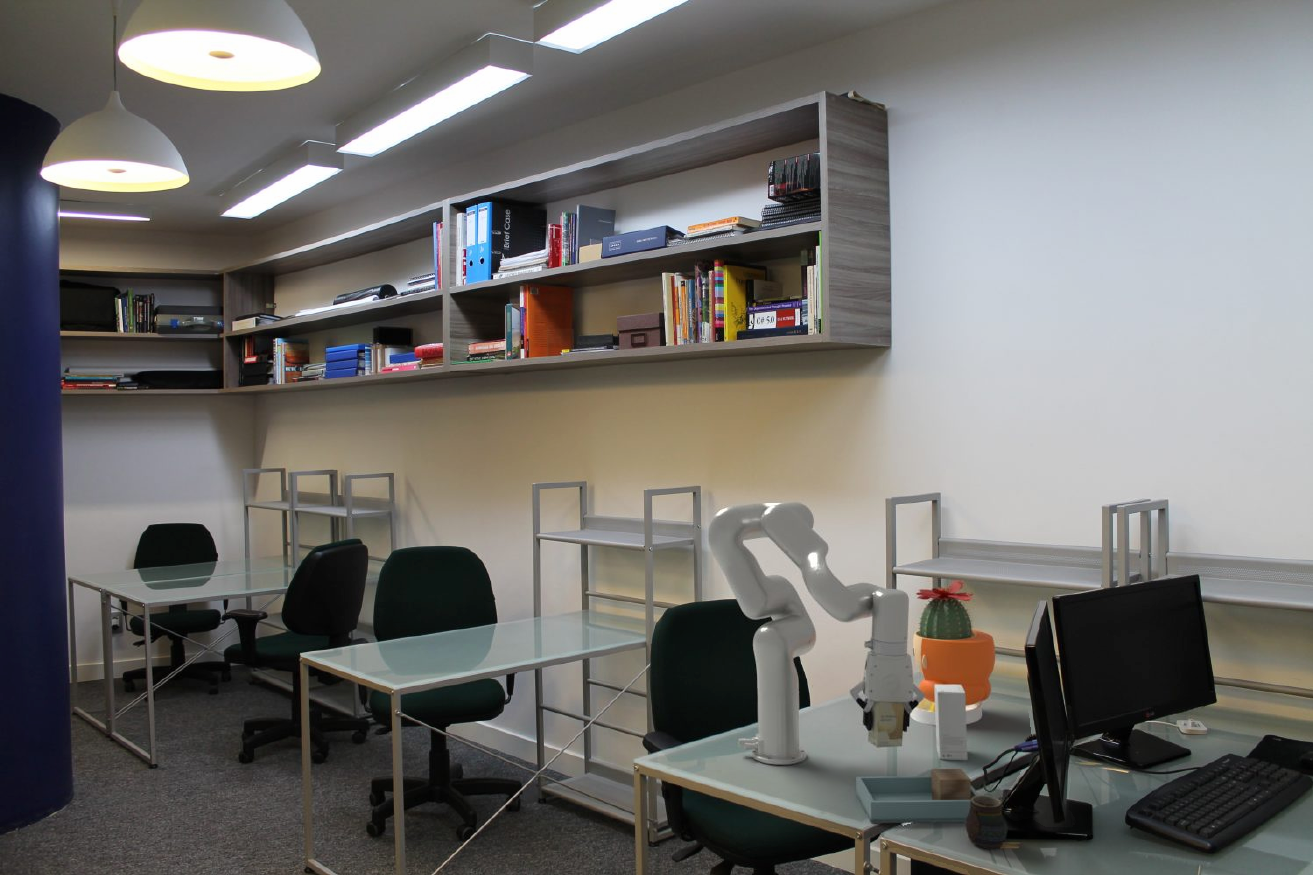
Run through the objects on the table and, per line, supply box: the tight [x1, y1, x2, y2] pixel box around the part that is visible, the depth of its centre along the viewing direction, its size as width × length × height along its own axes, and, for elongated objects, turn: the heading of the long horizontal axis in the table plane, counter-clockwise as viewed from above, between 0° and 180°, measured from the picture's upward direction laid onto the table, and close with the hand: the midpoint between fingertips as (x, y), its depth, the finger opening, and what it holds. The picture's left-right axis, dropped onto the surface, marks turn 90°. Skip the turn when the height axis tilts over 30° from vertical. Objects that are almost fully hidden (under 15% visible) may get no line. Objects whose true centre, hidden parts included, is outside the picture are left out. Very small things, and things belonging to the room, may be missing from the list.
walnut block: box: [931, 768, 972, 800], centre depth 194 cm, size 6×6×6 cm
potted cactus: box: [910, 580, 996, 726], centre depth 256 cm, size 22×22×35 cm
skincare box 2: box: [934, 685, 968, 761], centre depth 226 cm, size 8×7×16 cm
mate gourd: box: [965, 794, 1008, 849], centre depth 177 cm, size 7×8×10 cm
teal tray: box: [855, 775, 981, 824], centre depth 194 cm, size 22×14×4 cm, turn 90°
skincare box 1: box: [867, 702, 904, 749], centre depth 208 cm, size 6×4×12 cm
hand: (885, 728), depth 209 cm, fingers closed on skincare box 1, 7 cm apart
